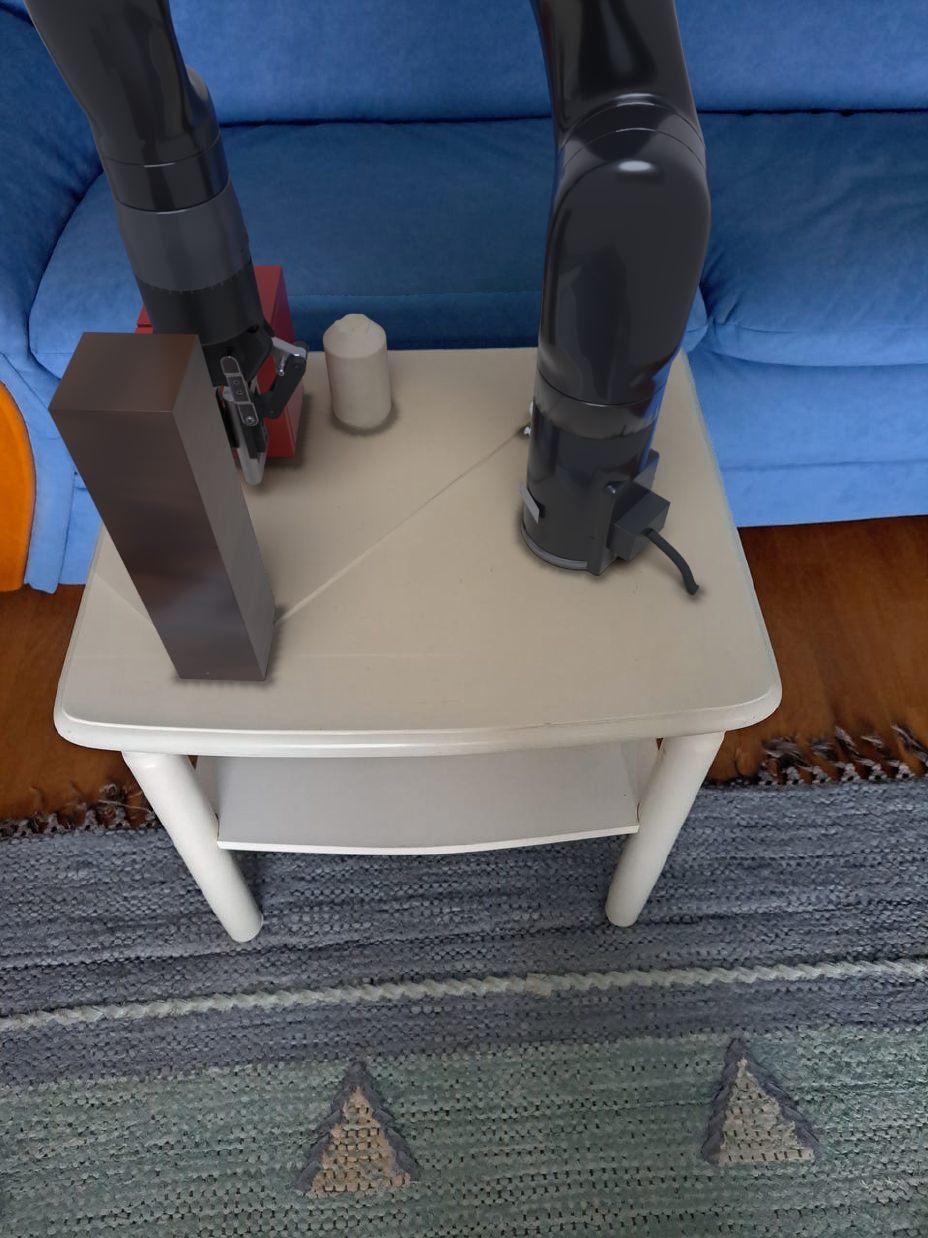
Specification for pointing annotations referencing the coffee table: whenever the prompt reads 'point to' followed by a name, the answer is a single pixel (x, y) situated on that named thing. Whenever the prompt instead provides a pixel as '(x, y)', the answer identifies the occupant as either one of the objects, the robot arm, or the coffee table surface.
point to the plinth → (170, 496)
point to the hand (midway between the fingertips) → (244, 451)
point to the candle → (358, 370)
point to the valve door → (277, 429)
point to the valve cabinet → (278, 318)
